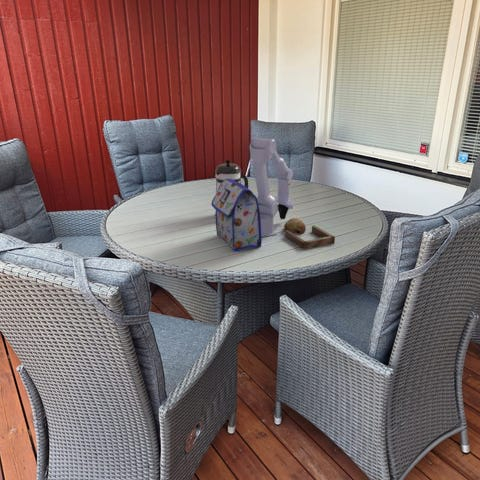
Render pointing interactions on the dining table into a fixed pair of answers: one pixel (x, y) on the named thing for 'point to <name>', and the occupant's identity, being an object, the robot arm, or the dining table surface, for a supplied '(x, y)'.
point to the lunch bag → (237, 215)
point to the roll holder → (324, 240)
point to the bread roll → (295, 226)
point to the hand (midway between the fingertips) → (282, 218)
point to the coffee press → (229, 174)
